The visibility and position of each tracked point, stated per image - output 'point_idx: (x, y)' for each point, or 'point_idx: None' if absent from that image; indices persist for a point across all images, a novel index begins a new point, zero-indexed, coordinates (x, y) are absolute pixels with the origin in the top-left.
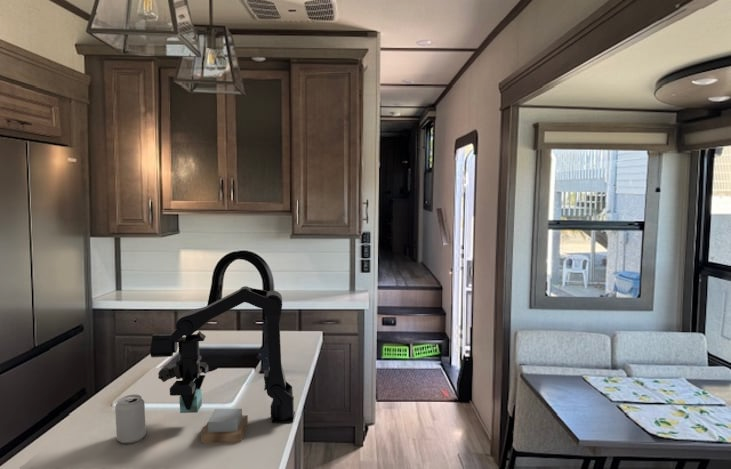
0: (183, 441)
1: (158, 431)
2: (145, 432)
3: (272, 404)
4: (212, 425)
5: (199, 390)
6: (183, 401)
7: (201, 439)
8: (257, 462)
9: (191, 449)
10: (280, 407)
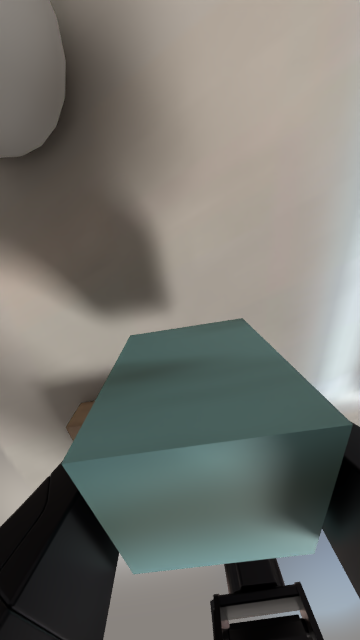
0: (69, 351)
1: (109, 207)
2: (27, 146)
3: (238, 566)
4: None
5: (281, 552)
6: (58, 466)
7: (75, 412)
8: None
9: (36, 393)
10: (226, 571)
